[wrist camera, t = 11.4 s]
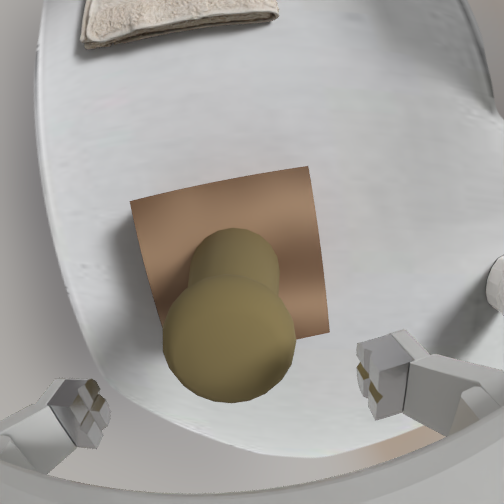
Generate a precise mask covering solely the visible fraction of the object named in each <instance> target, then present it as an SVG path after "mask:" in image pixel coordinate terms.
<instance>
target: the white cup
mask: <svg viewBox="0 0 504 504" xmlns="http://www.w3.org/2000/svg"><path fill="white" fill-rule="evenodd" d="M486 296H487V301H488V303H489V304H490V305H491V306H492V307H493V308H495V309H496V310H498V311H499V312H500V313H502V315H503V316H504V255H503V256H501V257H500V258H498V259H497V261H496V262H495V264H494V265H493V266H492V268H491V271H490V273H489V276H488V279H487V285H486Z"/></svg>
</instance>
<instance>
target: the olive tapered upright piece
mask: <svg viewBox="0 0 504 504" xmlns="http://www.w3.org/2000/svg"><path fill="white" fill-rule="evenodd" d="M279 276H280V269H279V263H278V258H277V255H276V254H275V252H274V250H273V248H272V247H271V245H270V244H269V243H268V242H267V241H266V240H265V239H264V238H263V237H261V236H260V235H259V234H256V233H254V232H252V231H250V230H247V229H240V228H228V229H223V230H218V231H216V232H215V233H213V234H211V235H209V236H208V237H206V238H205V239H204V240H203V241H202V242H201V243H200V245H199V246H198V247H197V248H196V250H195V252H194V255H193V257H192V260H191V265H190V272H189V281H188V288H186V289H185V290H184V291H183V292H182V293H181V295H180V296H179V297H178V298H177V299H176V300H175V301H174V302H173V304H172V305H171V307H170V309H169V311H168V314H167V316H166V319H165V322H164V324H163V353H164V356H165V358H166V361H167V364H168V366H169V368H170V370H171V371H172V372H173V373H174V375H175V376H176V377H177V378H178V380H179V381H180V382H181V383H182V384H183V386H185V387H186V388H187V389H189V390H190V391H192V392H193V393H195V394H196V395H198V396H200V397H203V398H206V399H209V400H212V401H215V402H225V403H237V402H243V401H249V400H252V399H254V398H257V397H259V396H261V395H263V394H265V393H267V392H268V391H269V390H270V389H271V388H273V387H274V386H275V385H276V384H278V383H279V382H280V381H281V380H282V379H283V377H284V376H285V374H286V372H287V371H288V369H289V368H290V366H291V364H292V359H293V355H294V350H295V345H296V335H295V329H294V323H293V320H292V317H291V315H290V313H289V311H288V310H287V308H286V306H285V304H284V303H283V301H282V299H281V298H280V297H278V294H279Z"/></svg>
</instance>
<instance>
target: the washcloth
mask: <svg viewBox="0 0 504 504" xmlns="http://www.w3.org/2000/svg"><path fill="white" fill-rule="evenodd" d="M278 12H279V9H278V6H277V2H276V0H86V3H85V8H84V14H83V19H82V29H81V36H80V42H82V43H84V48H85V49H87V50H90V49H95V48H97V47H99V48H100V47H109V46H111V45H112V43H114V45H116V44H118V43H128V42H132V41H137V40H141V39H146V38H150V37H154V36H159V35H164V34H169V33H175V32H180V31H187V30H193V29H199V28H207V27H213V26H221V25H236V24H251V23H263V22H270V21H273V20H275V19H277V18H278V17H279V14H278ZM130 37H131V38H130Z"/></svg>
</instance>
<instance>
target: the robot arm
mask: <svg viewBox="0 0 504 504" xmlns="http://www.w3.org/2000/svg"><path fill="white" fill-rule="evenodd" d="M357 357H358V359H359V360H360V363H359V365H358V366H357V379H358V385H359V388H360V391H361V393H362V395H363V396H364V397H366V398H368V407H369V409H370V411H371V413H372V415H373V417H374V418H375V420H379V419H383V418H386V417H389V416H392V415H396V414H399V413H402V412H403V414H405V415H407V416H408V417H410V418H412V419H414V420H416V421H418V422H419V423H421V424H423V425H425V426H427V427H429V428H431V429H433V430H434V431H436V432H438V433H440V434H442V435H444V436H446V438H443V439H441V440H439V441H437V442H434V443H432V444H430V445H427V446H425V447H423V448H420V449H418V450H415V451H413V452H411V453H408V454H405V455H402V456H400V457H397V458H394V459H391V460H389V461H386V462H383V463H380V464H377V465H374V466H370V467H367V468H364V469H361V470H357V471H353V472H350V473H346V474H342V475H338V476H334V477H330V478H325V479H321V480H316V481H311V482H307V483H301V484H296V485H290V486H283V487H277V488H270V489H261V490H253V491H241V492H228V493H203V494H183V493H181V494H180V493H155V492H142V491H133V490H123V489H115V488H109V487H102V486H96V485H90V484H85V483H80V482H75V481H70V480H66V479H61V478H58V477H54V476H50V475H47V474H48V473H49V472H50V471H51V470H52V469H54V468H55V467H56V466H57V465H58V464H59V463H60V462H61V461H63V460H64V459H65V458H66V457H67V456H68V455H70V454H71V453H72V452H73V451H74V450H75V449H76V448H77V447H81V448H92V449H97V448H98V446H99V443H100V441H101V439H102V437H103V433H102V430H103V429H104V428H106V427H107V426H108V424H109V421H110V408H109V405H108V403H107V401H106V400H105V399H104V398H103V397H102V396H101V395H99V393H100V388H99V386H98V384H97V382H96V381H95V380H93V379H79V378H57V379H55V380H54V381H53V382H52V383H51V385H50V386H49V387H48V388H47V390H46V391H45V392H44V393H43V395H42V396H41V397H40V398H39V400H38V401H37V402H36V404H31V405H29V406H27V407H25V408H24V409H22V410H20V411H18V412H16V413H14V414H12V415H11V416H9V417H7V418H5V419H3V420H1V421H0V504H504V371H503V370H499V369H495V368H491V367H486V366H482V365H478V364H474V363H470V362H466V361H462V360H458V359H454V358H450V357H446V356H442V355H439V354H432V355H430V354H429V353H428V352H427V351H426V350H425V349H424V348H423V347H422V346H421V345H420V343H419V342H418V341H417V340H416V339H415V338H414V337H413V336H412V335H411V334H410V333H409V332H408V331H407V330H404V329H402V330H399V331H396V332H393V333H390V334H388V335H385V336H382V337H378V338H375V339H371V340H368V341H364V342H361V343H357Z"/></svg>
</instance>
